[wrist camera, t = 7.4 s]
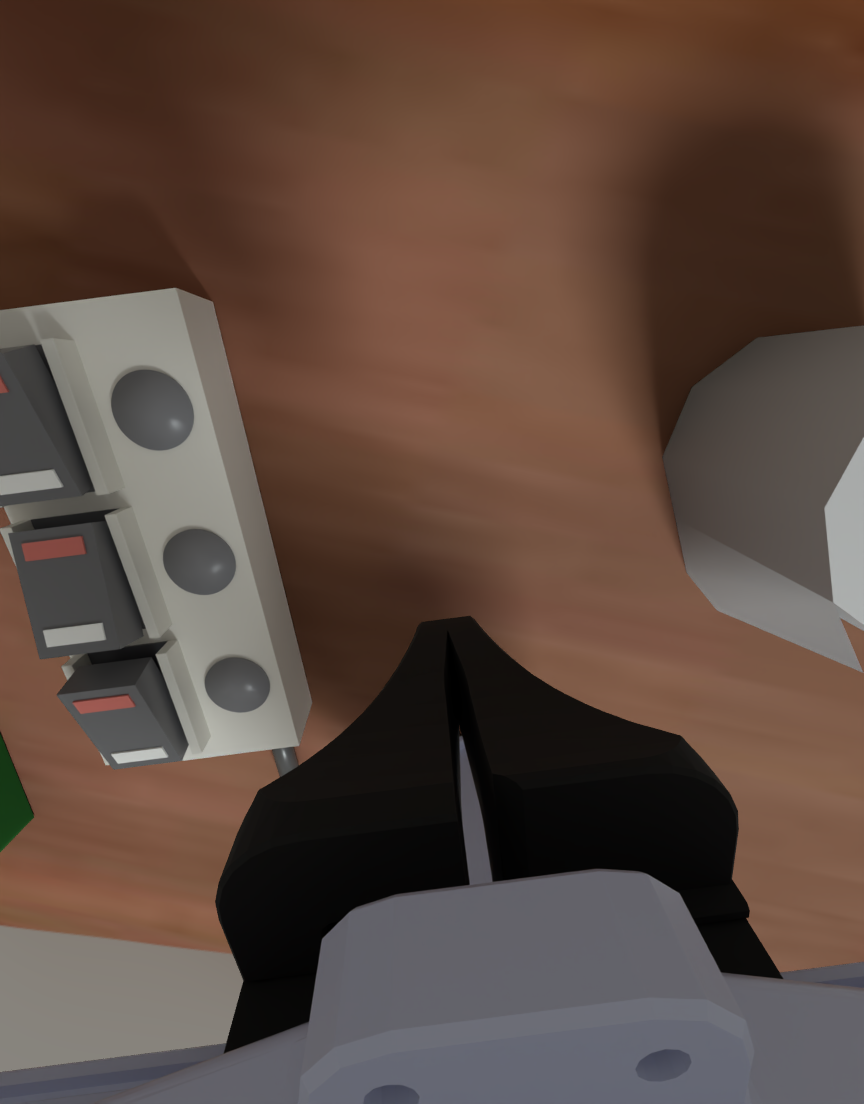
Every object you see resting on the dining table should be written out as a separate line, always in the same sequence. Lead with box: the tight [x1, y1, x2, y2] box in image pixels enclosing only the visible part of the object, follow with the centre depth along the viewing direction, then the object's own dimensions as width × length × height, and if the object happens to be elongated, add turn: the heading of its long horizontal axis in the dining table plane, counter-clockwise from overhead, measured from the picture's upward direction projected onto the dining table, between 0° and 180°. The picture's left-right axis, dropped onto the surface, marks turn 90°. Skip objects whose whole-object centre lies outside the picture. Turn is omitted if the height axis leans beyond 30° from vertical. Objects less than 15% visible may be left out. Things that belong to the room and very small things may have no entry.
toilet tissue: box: [662, 325, 864, 672], centre depth 17 cm, size 9×13×9 cm
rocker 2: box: [8, 521, 144, 659], centre depth 17 cm, size 4×3×2 cm, turn 7°
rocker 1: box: [0, 344, 94, 506], centre depth 15 cm, size 4×3×2 cm, turn 7°
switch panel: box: [0, 288, 312, 777], centre depth 20 cm, size 22×8×4 cm, turn 7°
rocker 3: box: [57, 657, 189, 769], centre depth 19 cm, size 4×3×2 cm, turn 7°
